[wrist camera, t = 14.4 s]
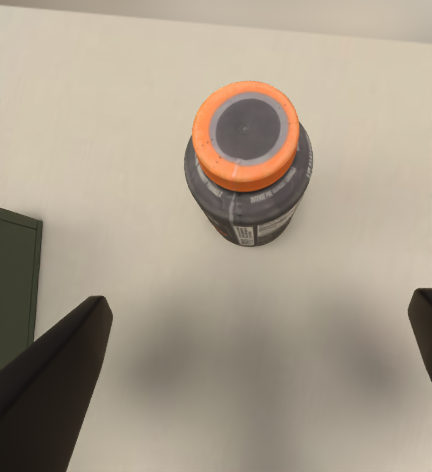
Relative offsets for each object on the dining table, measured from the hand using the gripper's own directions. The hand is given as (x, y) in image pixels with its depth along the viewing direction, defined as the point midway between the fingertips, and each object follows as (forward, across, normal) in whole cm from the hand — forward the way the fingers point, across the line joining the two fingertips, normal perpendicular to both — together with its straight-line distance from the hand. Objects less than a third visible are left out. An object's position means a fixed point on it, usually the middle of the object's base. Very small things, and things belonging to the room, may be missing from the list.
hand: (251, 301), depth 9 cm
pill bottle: (+13, 0, +4) cm, 14 cm away
